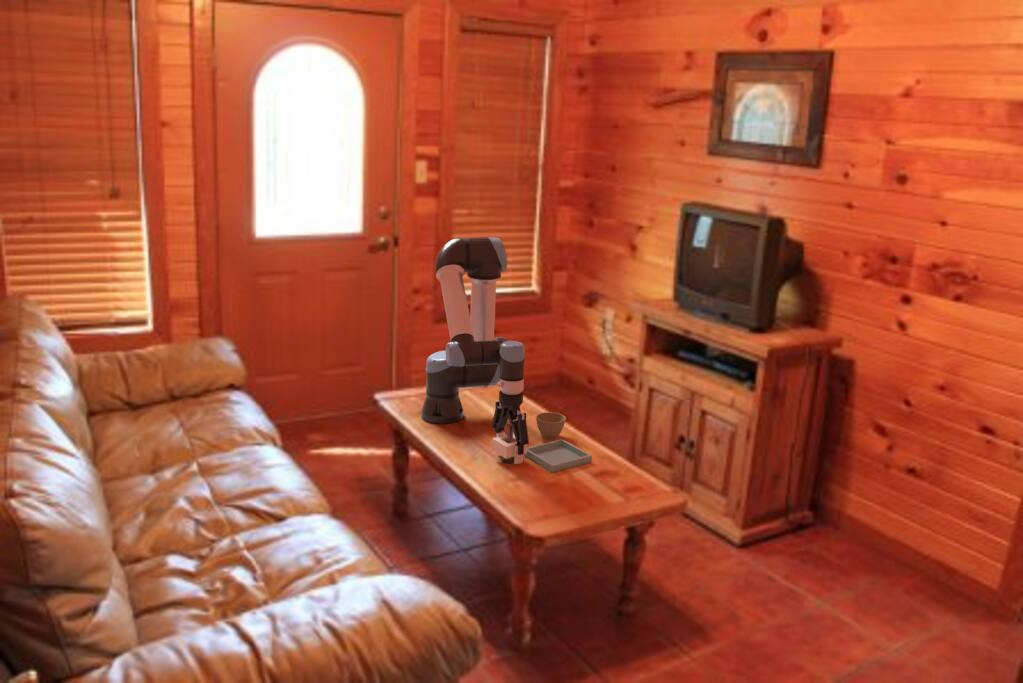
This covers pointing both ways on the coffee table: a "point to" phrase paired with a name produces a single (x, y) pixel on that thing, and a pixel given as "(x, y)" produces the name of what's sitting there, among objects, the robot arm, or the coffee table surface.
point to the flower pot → (550, 424)
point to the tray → (558, 455)
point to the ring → (505, 446)
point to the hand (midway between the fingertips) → (509, 457)
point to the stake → (509, 440)
